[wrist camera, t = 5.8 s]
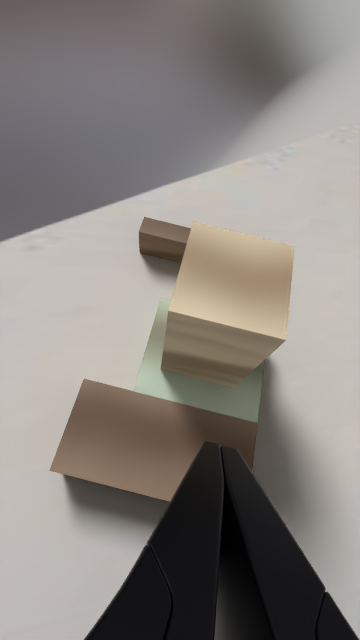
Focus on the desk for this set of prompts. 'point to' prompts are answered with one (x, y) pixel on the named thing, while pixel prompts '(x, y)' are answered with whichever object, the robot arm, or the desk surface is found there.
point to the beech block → (227, 305)
